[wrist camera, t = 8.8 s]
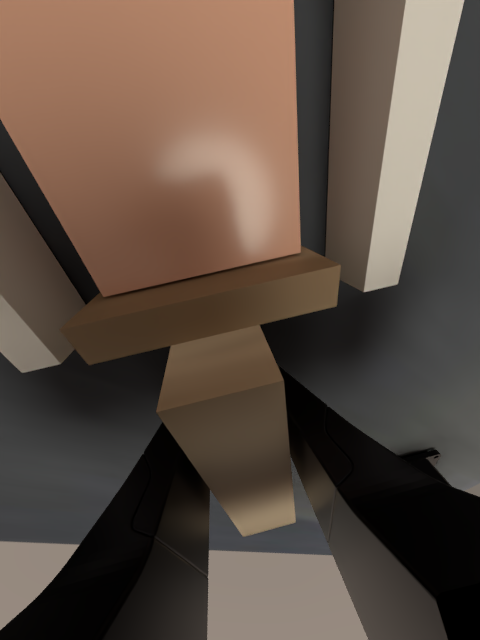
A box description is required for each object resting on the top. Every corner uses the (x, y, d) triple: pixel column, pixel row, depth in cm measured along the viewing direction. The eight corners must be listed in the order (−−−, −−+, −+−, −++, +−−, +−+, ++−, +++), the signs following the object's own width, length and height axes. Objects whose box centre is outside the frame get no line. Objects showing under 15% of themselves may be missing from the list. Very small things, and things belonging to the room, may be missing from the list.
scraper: (298, 412, 14) (341, 509, 9) (198, 438, 13) (195, 550, 9) (294, 242, 7) (411, 299, 3) (109, 283, 7) (-23, 403, 3)
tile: (275, 241, 8) (300, 252, 6) (131, 273, 8) (103, 297, 6) (254, 2, 5) (289, -148, 3) (22, 42, 5) (-120, -88, 3)
